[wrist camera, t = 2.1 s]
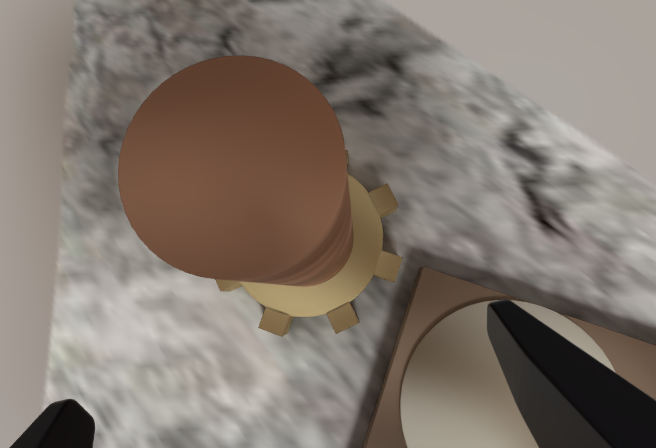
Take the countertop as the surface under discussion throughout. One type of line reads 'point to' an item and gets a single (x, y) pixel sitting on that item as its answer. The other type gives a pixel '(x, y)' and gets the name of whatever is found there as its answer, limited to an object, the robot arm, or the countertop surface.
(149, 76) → the countertop surface
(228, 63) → the gear spindle
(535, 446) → the gear board
